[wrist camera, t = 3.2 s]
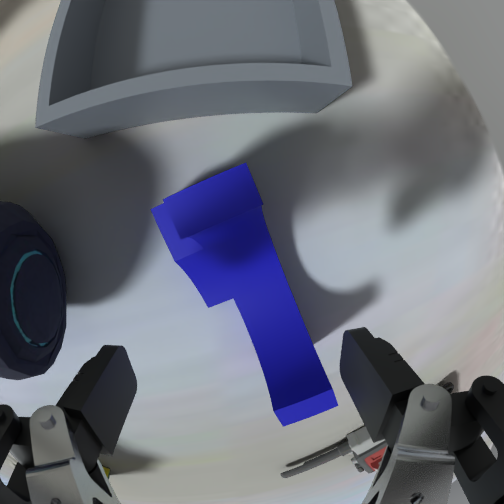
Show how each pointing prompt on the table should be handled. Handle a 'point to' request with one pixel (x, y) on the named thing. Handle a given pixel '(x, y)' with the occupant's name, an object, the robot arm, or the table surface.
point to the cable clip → (247, 283)
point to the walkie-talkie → (354, 451)
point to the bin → (187, 61)
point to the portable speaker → (29, 296)
